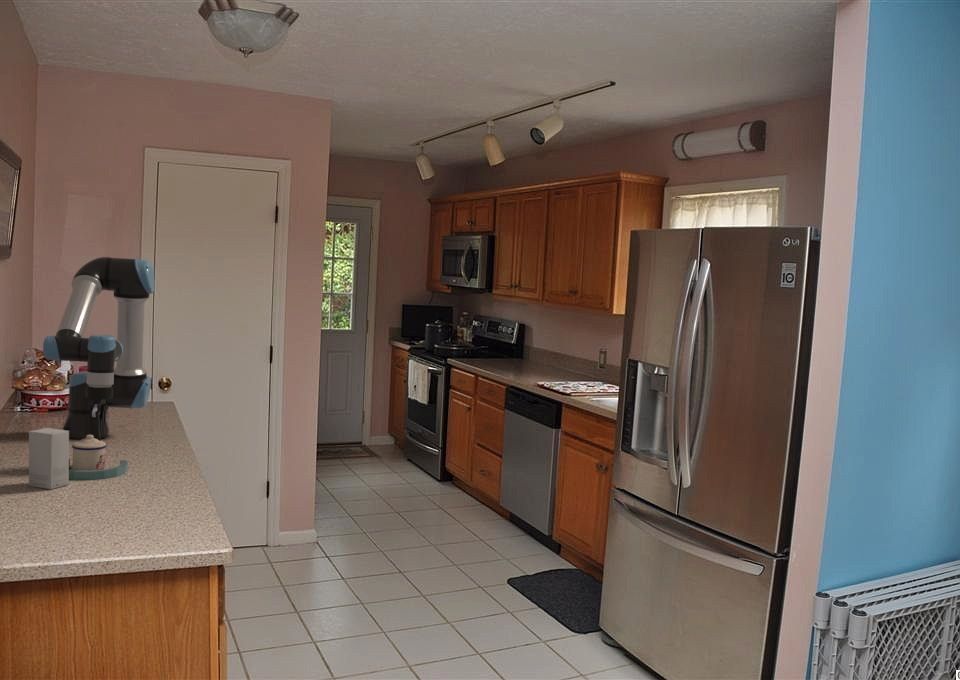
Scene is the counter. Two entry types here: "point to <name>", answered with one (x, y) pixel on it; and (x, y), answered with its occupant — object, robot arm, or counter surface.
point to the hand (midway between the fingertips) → (96, 461)
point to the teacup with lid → (88, 454)
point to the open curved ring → (99, 472)
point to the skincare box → (48, 458)
